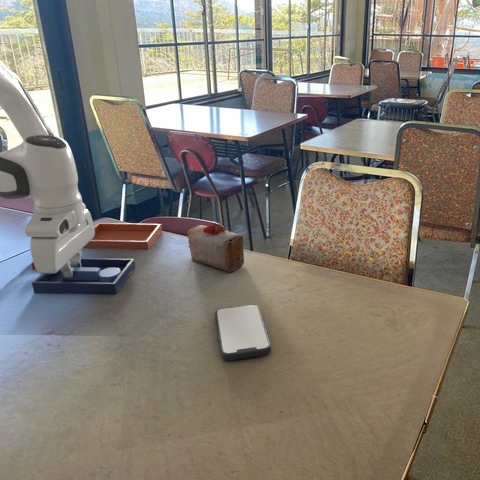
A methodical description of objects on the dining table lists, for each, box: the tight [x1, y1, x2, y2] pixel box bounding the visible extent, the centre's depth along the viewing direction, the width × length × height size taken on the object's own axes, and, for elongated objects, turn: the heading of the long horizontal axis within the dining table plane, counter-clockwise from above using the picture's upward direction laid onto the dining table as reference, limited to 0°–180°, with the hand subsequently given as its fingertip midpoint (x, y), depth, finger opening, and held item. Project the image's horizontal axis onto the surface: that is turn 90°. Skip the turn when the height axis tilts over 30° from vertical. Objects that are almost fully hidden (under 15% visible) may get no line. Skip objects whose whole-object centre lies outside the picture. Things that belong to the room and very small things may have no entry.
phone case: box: [214, 304, 272, 362], centre depth 89 cm, size 9×2×16 cm
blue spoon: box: [60, 267, 121, 283], centre depth 107 cm, size 13×5×2 cm, turn 91°
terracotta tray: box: [82, 222, 163, 250], centre depth 127 cm, size 17×12×2 cm
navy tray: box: [31, 257, 136, 295], centre depth 107 cm, size 17×12×2 cm
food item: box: [187, 221, 245, 273], centre depth 115 cm, size 14×8×10 cm, turn 59°
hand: (73, 272), depth 106 cm, fingers closed on blue spoon, 2 cm apart
